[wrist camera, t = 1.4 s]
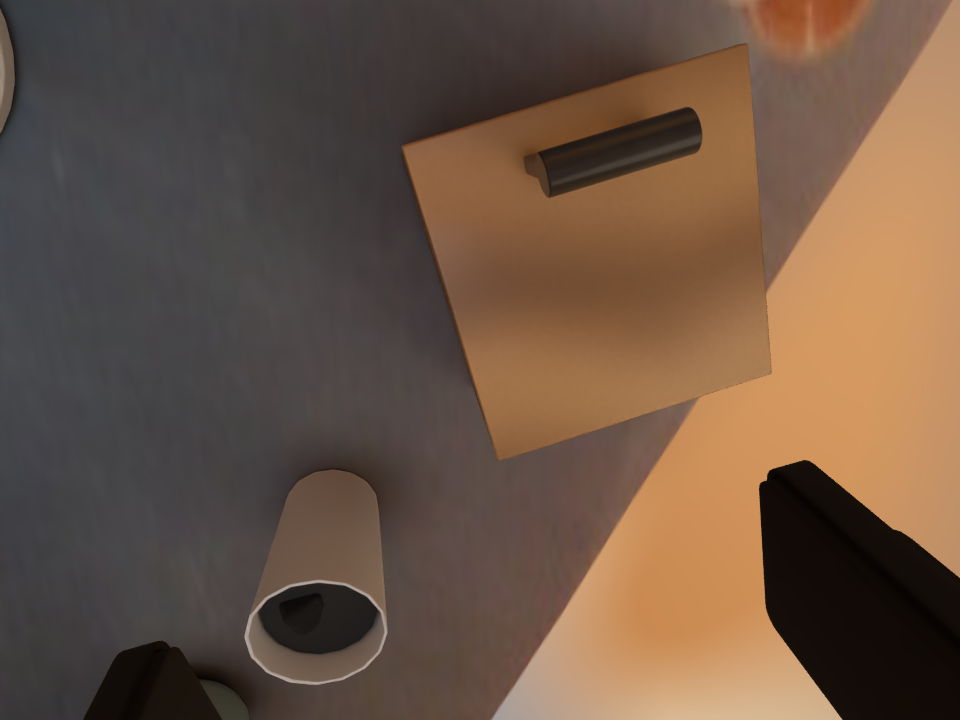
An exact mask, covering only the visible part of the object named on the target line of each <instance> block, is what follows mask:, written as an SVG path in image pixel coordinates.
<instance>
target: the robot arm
mask: <svg viewBox="0 0 960 720" xmlns="http://www.w3.org/2000/svg"><path fill="white" fill-rule="evenodd" d="M14 85H15V73H14V55H13V49H12V45H11V41H10V37H9V33H8V29H7V25H6V21H5V19H4V16H3V14H2V12H1V9H0V133H1V132H2V129H3V127H4V124H5V122H6V119H7V117H8V114H9V112H10V110H11V104H12V98H13V91H14ZM759 495H760V512H761V513H760V514H761V531H762V549H763V567H764V585H765V603H766V610H767V613H768V616H769V618H770V620H771V622H772V624H773V626H774V628H775V629H776V631H777V632H778V633H779V635H780V636H781V637H782V639H783V640H784V642H785V643H786V644H787V646H788V647H789V648H790V650H791V651H792V652H793V654H794V655H795V656H796V658H797V659H798V660H799V662H800V663H801V664H802V666H803V667H804V668H805V670H806V671H807V672H808V674H809V675H810V677H811V678H812V679H813V680H814V682H815V683H816V685H817V686H818V687H819V688H820V690H821V691H822V693H823V694H824V695H825V697H826V698H827V699H828V701H829V702H830V703H831V705H832V706H833V707H834V709H835V710H836V712H837V713H838V714H839V716H840V717H841V718H842V720H960V578H959V577H958V576H956V575H955V574H954V573H953V572H951V571H950V570H949V569H948V568H947V567H946V566H944V565H943V564H942V563H941V562H939V561H938V560H937V559H936V558H934V557H933V556H932V555H931V554H930V553H928V552H927V551H926V550H925V549H924V548H922V547H921V546H920V545H919V544H917V543H916V542H915V541H914V540H913V539H911V538H910V537H908V536H907V535H905V534H903V533H902V532H900V531H897V530H893V529H892V528H891V527H889V526H888V525H887V524H886V523H885V522H883V521H882V520H881V519H880V518H879V517H877V516H876V515H875V514H874V513H873V512H871V511H870V510H869V509H868V508H867V507H865V506H864V505H863V504H862V503H860V502H859V501H858V500H857V499H856V498H854V497H853V496H852V495H851V494H850V493H848V492H847V491H846V490H845V489H844V488H842V487H841V486H840V485H839V484H837V483H836V482H835V481H834V480H833V479H831V478H830V477H829V476H828V475H827V474H826V473H824V472H823V471H822V470H821V469H819V468H818V467H817V466H816V465H815V464H813V463H811V462H810V461H806V460H803V461H799V462H796V463H793V464H789V465H785V466H782V467H778V468H775V469H772V470H770V471H769V473H768V475H767V481H764V482H762V483H760V486H759ZM83 720H222V718H221V717H220V715H219V713H218V712H217V710H216V708H215V707H214V705H213V703H212V702H211V700H210V698H209V696H208V695H207V693H206V691H205V690H204V688H203V686H202V685H201V683H200V681H199V680H198V678H197V676H196V675H195V673H194V671H193V670H192V668H191V666H190V665H189V663H188V661H187V660H186V658H185V656H184V655H183V653H182V652H181V650H180V649H179V648H177V647H172V648H170V646H169V645H168V644H167V643H166V642H164V641H156V642H153V643H149V644H146V645H142V646H139V647H135V648H131V649H128V650H124V651H122V652H121V653H119V654H118V655H117V656H116V658H115V659H114V661H113V662H112V664H111V666H110V668H109V670H108V672H107V674H106V676H105V678H104V680H103V682H102V684H101V686H100V688H99V690H98V692H97V694H96V696H95V698H94V700H93V701H92V703H91V705H90V707H89V709H88V711H87V713H86V715H85V717H84V719H83Z"/></svg>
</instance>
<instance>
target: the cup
mask: <svg viewBox="0 0 960 720" xmlns="http://www.w3.org/2000/svg"><path fill="white" fill-rule="evenodd" d="M198 680H199V681H200V683H201V685H202V686H203V688H204V690H205V691H206V693H207V695H208V696H209V698H210V700H211V702H212V703H213V705H214V707H215V708H216V710H217V712H218V713H219V715H220V717H221V718H222V720H250V717H249V712H248V710H247V707H246V705H245V703H244V701H243V700H242V698H241V697H240V696H239V695H238V694H237V693H236V692H235V691H234V690H233V689H231V688H229V687H228V686H226V685H224V684H221V683H219V682H215V681H211V680H204V679H198Z"/></svg>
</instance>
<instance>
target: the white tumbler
mask: <svg viewBox="0 0 960 720" xmlns="http://www.w3.org/2000/svg"><path fill="white" fill-rule="evenodd" d="M386 635H387V619H386V605H385V591H384V577H383V564H382V550H381V536H380V522H379V508H378V502H377V497H376V493H375V492H374V491H373V489H372V488H371V487H370V485H369V484H368V483H367V481H365V480H363V479H362V478H360V477H358V476H357V475H355V474H353V473H351V472H345V471H340V470H334V469H332V470H326V471H319V472H314V473H312V474H310V475H308V476H307V477H305V478H303V479H301V480H299V481H298V482H297V483H296V485H295V486H294V487H293V488H292V489H291V491H290V492H289V493H288V496H287V499H286V502H285V506H284V509H283V512H282V515H281V518H280V521H279V524H278V528H277V531H276V534H275V537H274V540H273V543H272V546H271V550H270V553H269V556H268V559H267V562H266V565H265V568H264V572H263V575H262V578H261V581H260V584H259V587H258V590H257V594H256V597H255V600H254V603H253V606H252V609H251V613H250V616H249V620H248V624H247V628H246V632H245V640H246V643H247V647H248V650H249V653H250V656H251V658H253V659H254V660H255V661H256V662H257V663H258V664H259V665H260V666H261V667H262V668H263V669H264V670H265V671H266V672H267V673H269V674H271V675H274V676H276V677H278V678H281V679H283V680H285V681H288V682H291V683H302V684H313V685H318V684H323V683H329V682H334V681H339V680H343V679H345V678H347V677H349V676H351V675H353V674H355V673H357V672H359V671H361V670H363V669H365V668H366V667H367V666H368V665H369V664H370V663H371V662H372V661H373V659H374V658H375V657H376V656H377V655H378V654H379V653H380V652H381V650H382V647H383V644H384V641H385V638H386Z"/></svg>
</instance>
